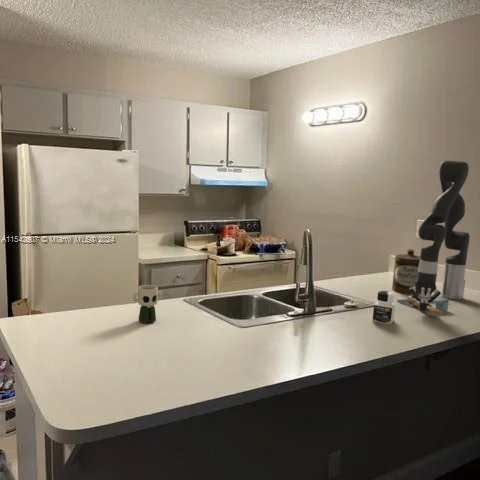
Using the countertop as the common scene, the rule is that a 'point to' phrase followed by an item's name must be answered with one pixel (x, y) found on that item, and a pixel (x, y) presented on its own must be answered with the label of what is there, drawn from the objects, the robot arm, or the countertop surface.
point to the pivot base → (407, 302)
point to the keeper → (440, 304)
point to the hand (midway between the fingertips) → (422, 311)
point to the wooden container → (405, 272)
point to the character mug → (147, 302)
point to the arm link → (430, 309)
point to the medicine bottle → (384, 308)
